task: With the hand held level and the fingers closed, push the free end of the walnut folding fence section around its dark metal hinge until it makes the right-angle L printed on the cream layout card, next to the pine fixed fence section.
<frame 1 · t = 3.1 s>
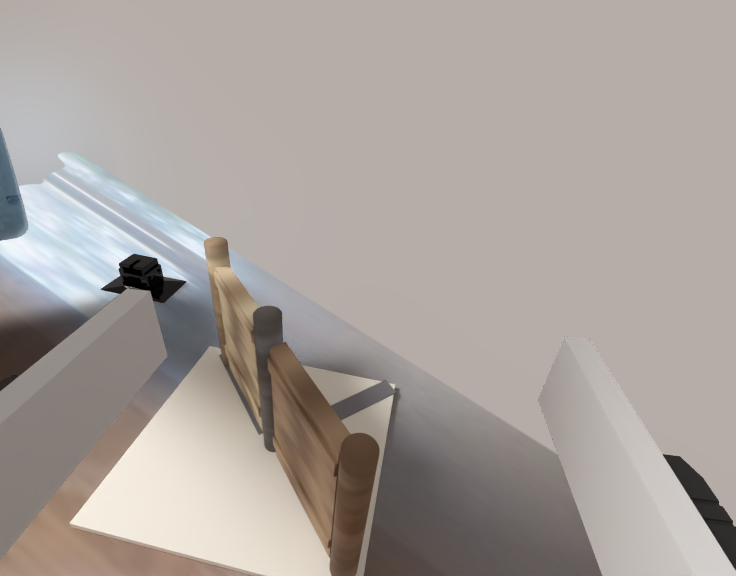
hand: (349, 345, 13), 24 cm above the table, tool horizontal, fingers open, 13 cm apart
layout card: (265, 443, 36), on the table
fixed fence section: (275, 446, 36), resting on layout card
folding fence section: (314, 456, 27), point 8 cm above the table, hinge at 0.0°
black blocky piece: (146, 289, 55), on the table
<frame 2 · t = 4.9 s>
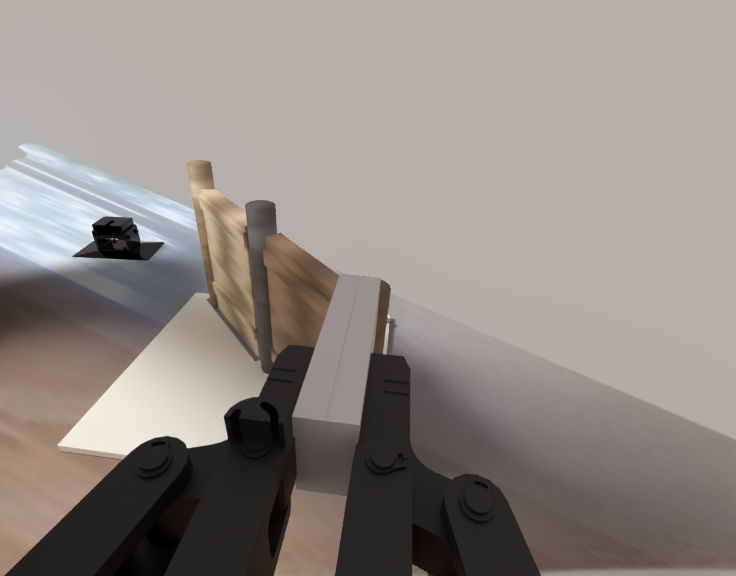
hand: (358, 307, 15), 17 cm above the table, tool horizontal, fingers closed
layout card: (262, 370, 35), on the table
fixed fence section: (273, 371, 35), resting on layout card
folding fence section: (318, 344, 26), point 8 cm above the table, hinge at 0.0°
black blocky piece: (122, 253, 53), on the table
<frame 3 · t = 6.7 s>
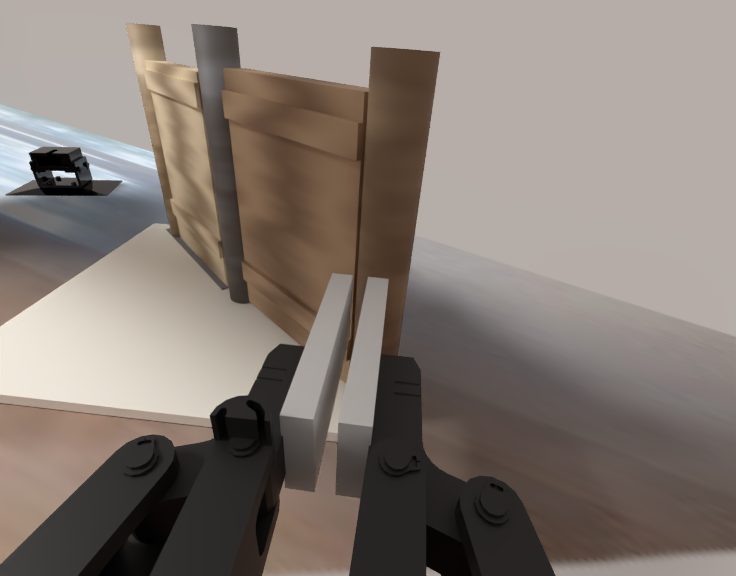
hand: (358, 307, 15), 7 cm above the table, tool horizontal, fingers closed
layout card: (232, 301, 26), on the table
fixed fence section: (246, 302, 26), resting on layout card
folding fence section: (310, 223, 18), point 8 cm above the table, hinge at 3.7°, touching gripper
black blocky piece: (70, 193, 43), on the table
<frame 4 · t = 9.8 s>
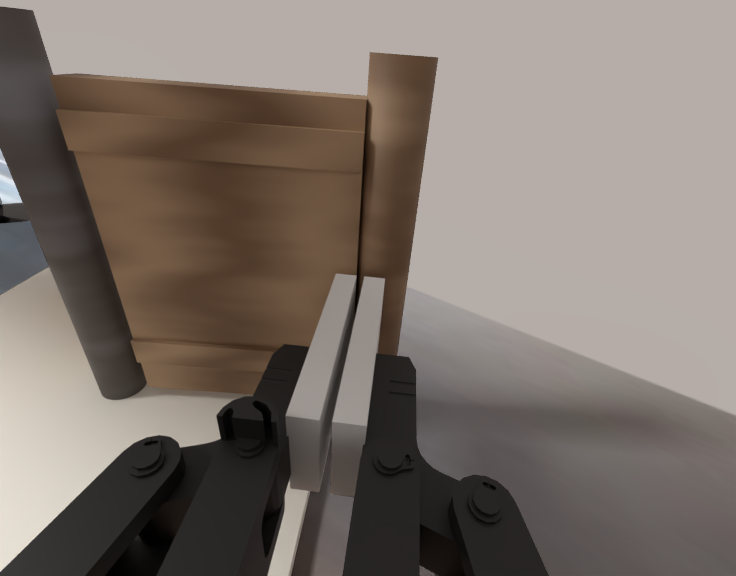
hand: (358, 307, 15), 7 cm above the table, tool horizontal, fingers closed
layout card: (108, 390, 19), on the table
fixed fence section: (128, 393, 19), resting on layout card
folding fence section: (262, 256, 15), point 8 cm above the table, hinge at 48.2°, touching gripper
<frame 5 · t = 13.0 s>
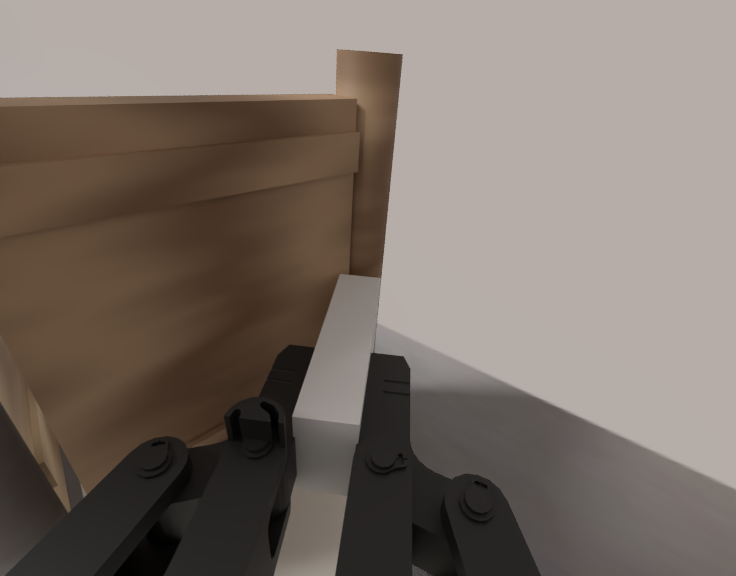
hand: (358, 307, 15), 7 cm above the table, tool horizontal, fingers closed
folding fence section: (251, 297, 12), point 8 cm above the table, hinge at 94.5°, touching gripper
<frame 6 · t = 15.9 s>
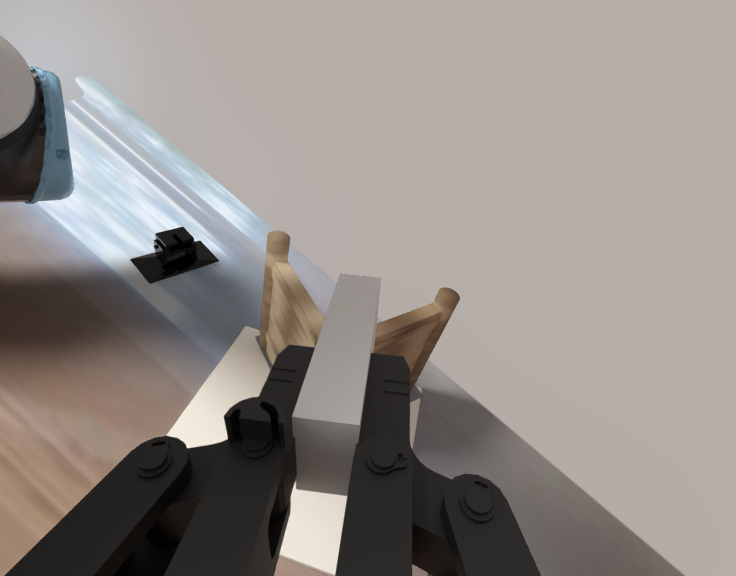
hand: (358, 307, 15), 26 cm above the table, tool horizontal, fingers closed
layout card: (301, 434, 38), on the table
fixed fence section: (310, 437, 38), resting on layout card
folding fence section: (389, 360, 37), point 8 cm above the table, hinge at 94.5°
black blocky piece: (177, 264, 53), on the table
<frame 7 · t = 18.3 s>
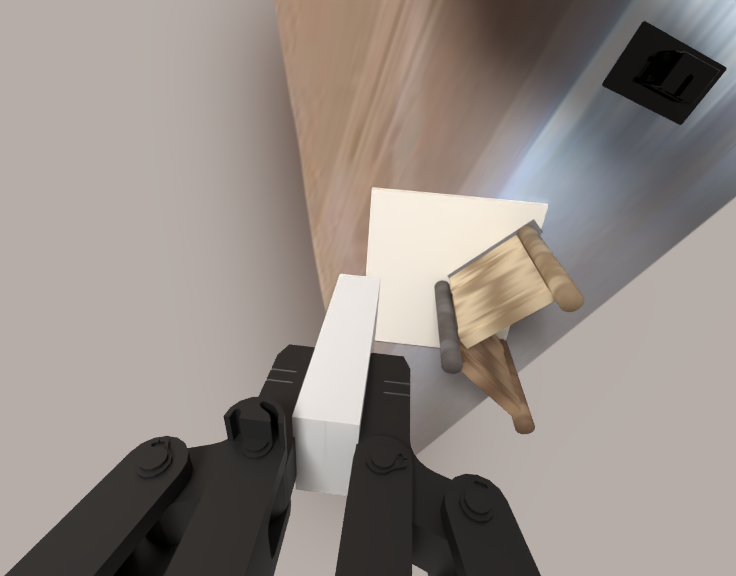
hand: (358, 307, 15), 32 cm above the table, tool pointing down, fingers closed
layout card: (443, 278, 50), on the table
fixed fence section: (441, 284, 51), resting on layout card
folding fence section: (486, 358, 46), point 8 cm above the table, hinge at 94.5°
black blocky piece: (659, 76, 37), on the table
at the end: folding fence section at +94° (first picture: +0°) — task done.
